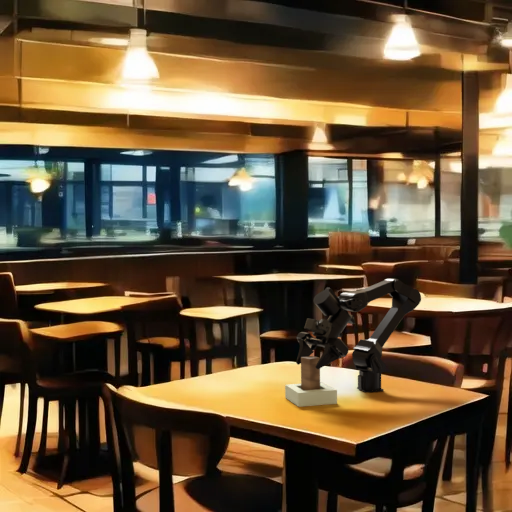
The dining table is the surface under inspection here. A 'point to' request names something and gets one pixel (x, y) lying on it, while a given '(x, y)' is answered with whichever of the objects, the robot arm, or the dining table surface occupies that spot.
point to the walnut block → (310, 373)
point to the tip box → (311, 395)
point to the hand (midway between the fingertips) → (306, 366)
